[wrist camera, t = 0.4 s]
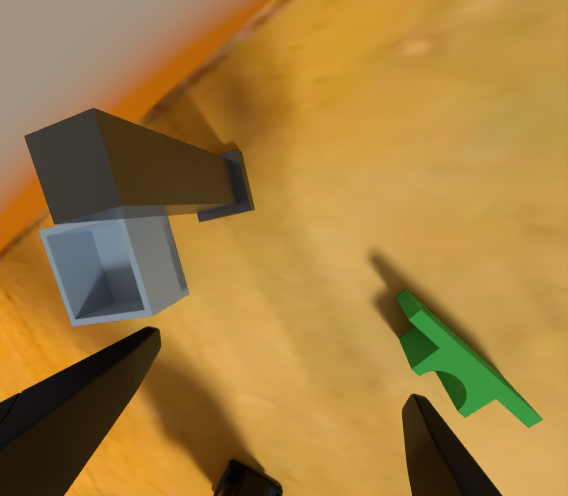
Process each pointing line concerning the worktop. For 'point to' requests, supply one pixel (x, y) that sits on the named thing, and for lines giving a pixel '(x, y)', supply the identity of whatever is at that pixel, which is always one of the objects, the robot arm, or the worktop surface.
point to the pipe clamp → (457, 365)
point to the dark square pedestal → (132, 172)
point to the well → (115, 268)
